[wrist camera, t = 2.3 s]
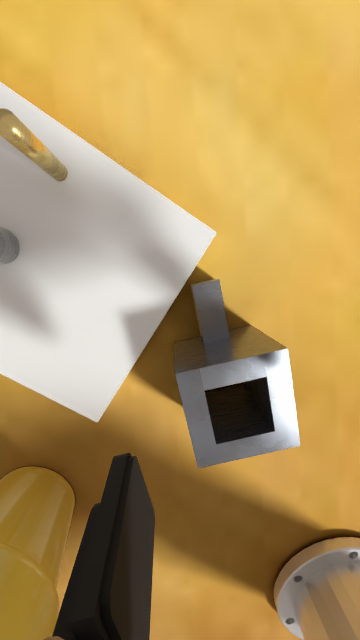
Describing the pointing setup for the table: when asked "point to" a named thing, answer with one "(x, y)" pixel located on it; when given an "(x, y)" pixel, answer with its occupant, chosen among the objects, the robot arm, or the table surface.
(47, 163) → the brass dowel
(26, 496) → the plant pot
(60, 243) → the board
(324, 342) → the table surface
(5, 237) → the steel post
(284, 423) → the grey socket block
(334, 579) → the robot arm
